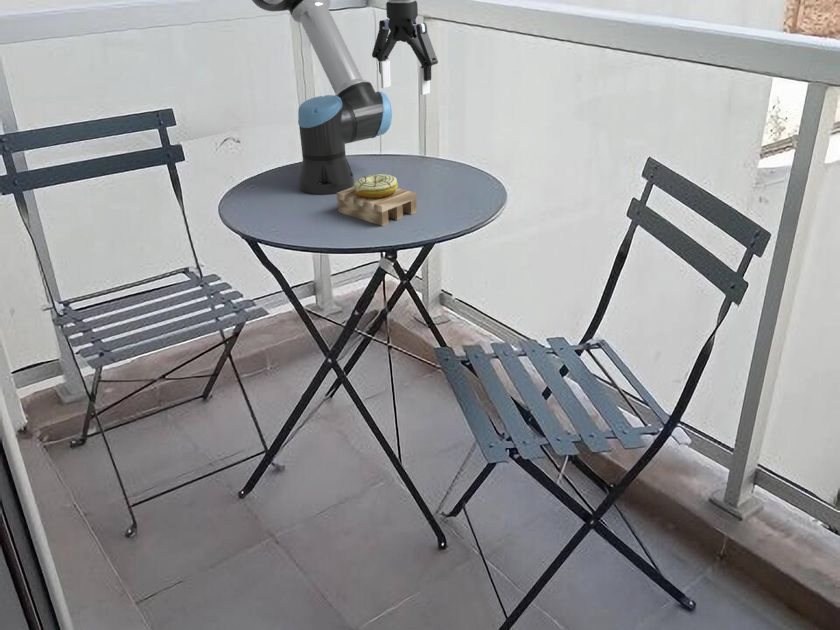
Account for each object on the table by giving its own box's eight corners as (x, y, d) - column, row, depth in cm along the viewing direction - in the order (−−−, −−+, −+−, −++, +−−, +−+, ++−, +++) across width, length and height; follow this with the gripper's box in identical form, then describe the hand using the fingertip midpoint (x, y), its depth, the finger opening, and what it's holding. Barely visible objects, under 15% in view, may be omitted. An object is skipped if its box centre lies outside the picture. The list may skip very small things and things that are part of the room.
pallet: (338, 211, 206) (336, 192, 203) (372, 199, 213) (371, 180, 211) (382, 226, 196) (381, 206, 194) (416, 212, 204) (416, 193, 201)
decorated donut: (356, 187, 207) (355, 172, 205) (398, 185, 207) (397, 171, 205) (353, 200, 198) (352, 185, 196) (397, 199, 198) (396, 184, 196)
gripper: (354, -1, 200) (360, 87, 210) (429, 5, 185) (432, 99, 195) (376, -4, 205) (381, 81, 215) (451, 1, 190) (452, 93, 200)
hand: (405, 90), depth 205 cm, fingers open, 13 cm apart
